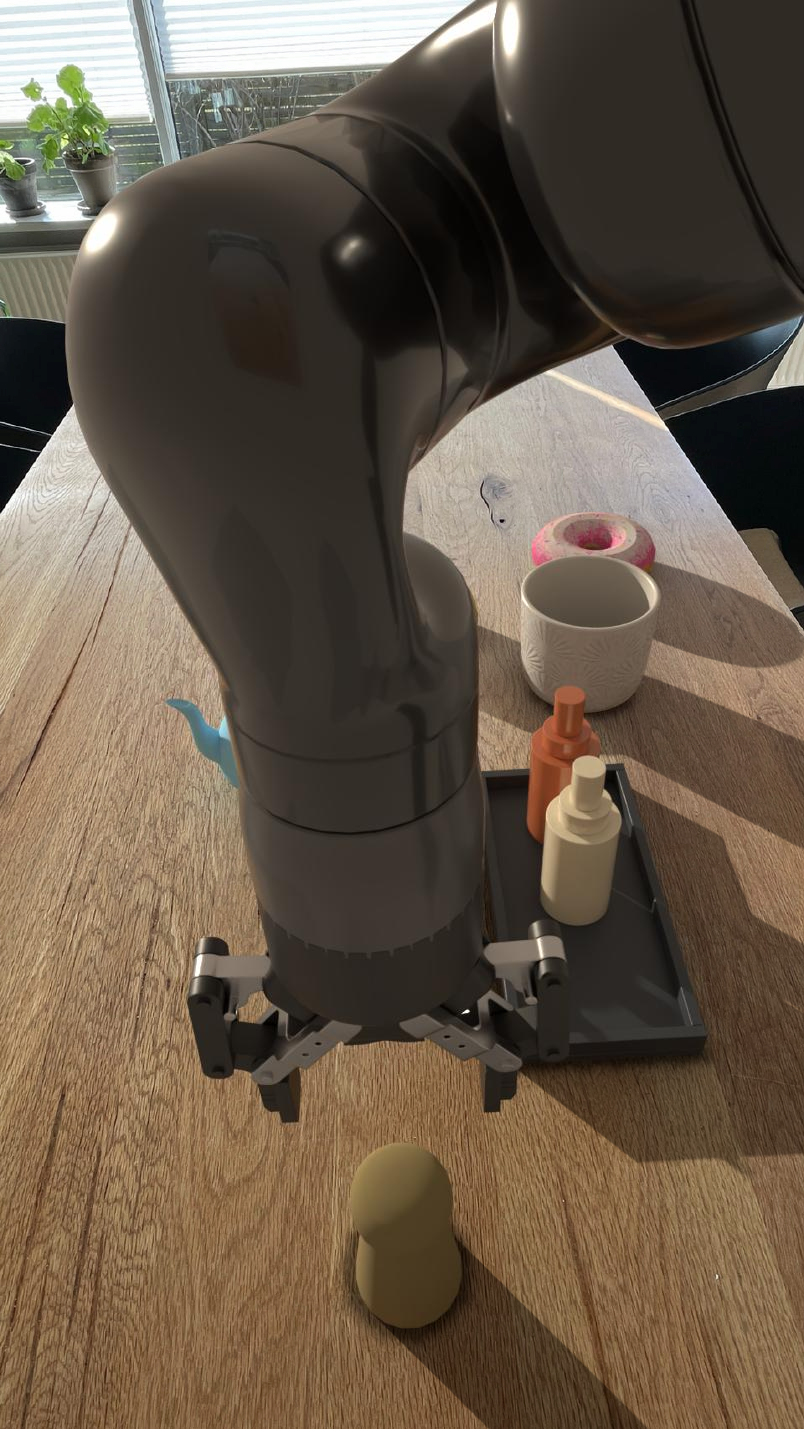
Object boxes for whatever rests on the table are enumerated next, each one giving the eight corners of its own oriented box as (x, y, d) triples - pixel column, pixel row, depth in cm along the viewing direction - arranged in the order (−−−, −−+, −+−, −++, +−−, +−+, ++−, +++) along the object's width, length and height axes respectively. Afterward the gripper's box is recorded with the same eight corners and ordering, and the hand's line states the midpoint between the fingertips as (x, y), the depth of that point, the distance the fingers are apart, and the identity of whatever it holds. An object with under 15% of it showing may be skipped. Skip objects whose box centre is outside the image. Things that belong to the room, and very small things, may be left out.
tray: (701, 1054, 63) (707, 1035, 61) (511, 1065, 63) (512, 1046, 61) (620, 782, 82) (623, 762, 81) (475, 790, 82) (475, 771, 81)
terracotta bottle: (604, 829, 77) (622, 698, 68) (556, 859, 75) (568, 728, 66) (559, 793, 80) (571, 663, 71) (513, 821, 78) (519, 691, 69)
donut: (521, 597, 104) (523, 558, 101) (541, 536, 114) (543, 499, 111) (646, 611, 101) (652, 571, 98) (656, 548, 111) (661, 509, 108)
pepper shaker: (385, 1194, 57) (373, 1104, 50) (478, 1240, 55) (480, 1152, 47) (336, 1296, 53) (315, 1214, 46) (435, 1350, 51) (429, 1273, 43)
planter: (535, 735, 87) (541, 638, 80) (503, 655, 96) (506, 562, 89) (665, 716, 88) (682, 620, 81) (621, 639, 98) (633, 547, 90)
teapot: (283, 709, 92) (268, 622, 85) (392, 760, 85) (386, 671, 79) (186, 787, 84) (162, 699, 77) (299, 850, 78) (283, 760, 71)
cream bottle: (623, 902, 71) (646, 771, 62) (572, 938, 69) (588, 806, 60) (575, 860, 75) (590, 729, 66) (525, 893, 72) (533, 762, 63)
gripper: (123, 960, 28) (217, 1195, 38) (612, 934, 28) (570, 1177, 38) (163, 778, 33) (235, 1027, 44) (569, 756, 33) (543, 1011, 44)
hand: (391, 1096), depth 41 cm, fingers open, 8 cm apart
